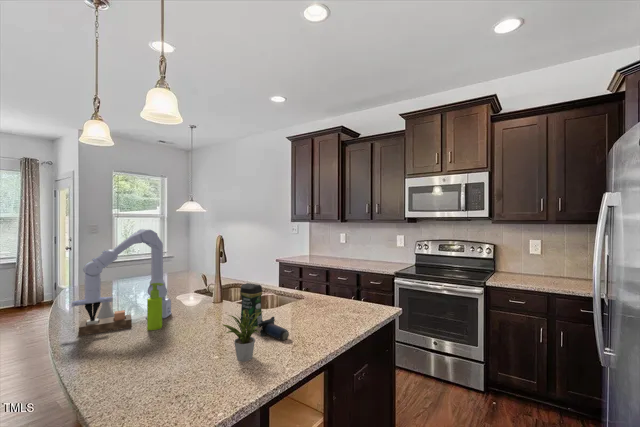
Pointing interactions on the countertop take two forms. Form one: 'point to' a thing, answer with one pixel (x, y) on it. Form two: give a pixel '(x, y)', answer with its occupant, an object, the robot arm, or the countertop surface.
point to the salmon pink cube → (119, 315)
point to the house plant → (244, 337)
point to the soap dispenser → (154, 309)
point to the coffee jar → (251, 302)
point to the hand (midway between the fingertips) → (92, 320)
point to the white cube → (92, 321)
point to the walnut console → (105, 325)
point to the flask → (105, 311)
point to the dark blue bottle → (273, 329)
